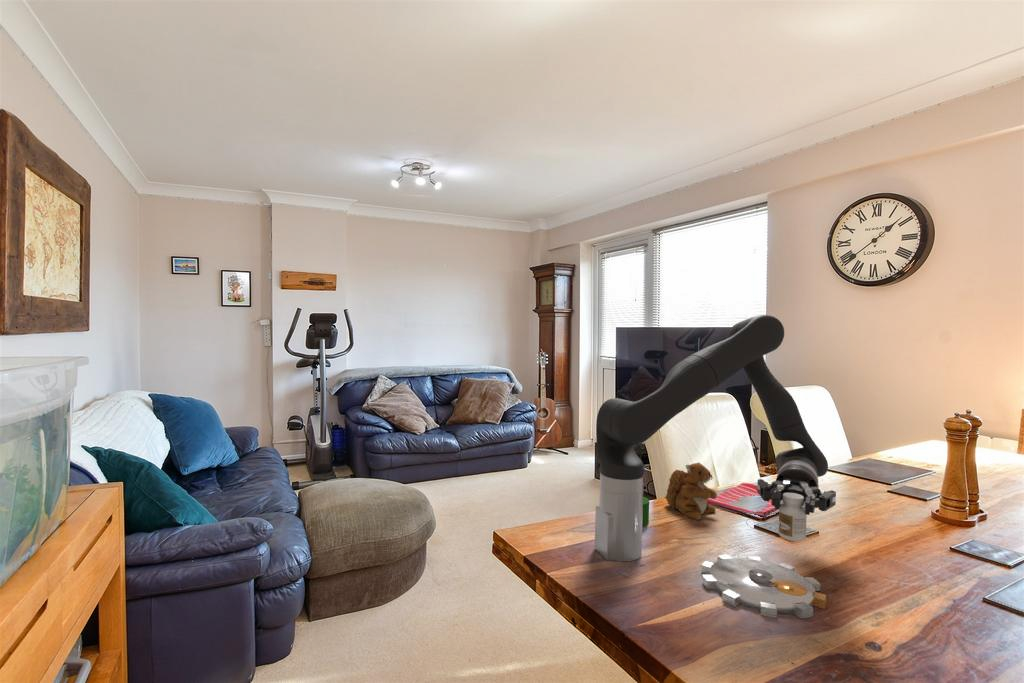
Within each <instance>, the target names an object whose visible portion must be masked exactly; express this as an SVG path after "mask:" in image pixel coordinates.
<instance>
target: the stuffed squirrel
mask: <svg viewBox="0 0 1024 683" xmlns="http://www.w3.org/2000/svg"><path fill="white" fill-rule="evenodd" d="M685 468H686V471H685V470H681V469H680V470H679V469H675V470H674V471H673V472H672V473H671V474H670V475H671V476H670V478H669V484H668V487H667V489H666V495H665V496H664V499H665V500H666V501H667V505H669V506H670V507H671V508H673V509H678V510H679V511H680V513H681V514H682V515H683V516H685V517H687V518H690V519H693V520H695V521H700V520H701V519H702V514H704V513H709V514H710V513H716V507H713V506H711V505H708V501H707V500H706V499H709V498H711V499H715V498H716V497H717V495H718V494H717V492H716V491H715V489H712V488H710V487H708V486H707V485H706V484H707V483H708V482H709V481H712V480H713V479H714V477H713V475H712V474H711V471H710V470H709V468H707V467H705V465H704V464H702V463H700V462H696V463H691V464H685Z"/></svg>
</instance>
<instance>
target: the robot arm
mask: <svg viewBox="0 0 1024 683" xmlns="http://www.w3.org/2000/svg"><path fill="white" fill-rule="evenodd" d="M728 334H729V335H728V338H726V339H724V340H721V341H718V342H716V343H713V344H711V345H708V346H706V347H704V348H702V349H700V350H698V351H696V352H694V353H692V354H690V355H689V356H687V357H686V358H684V359H683V360H681V361H679V362H678V363H676V364H675V365H673V367H672V368H670V370H669V371H668V372H667V374H666V377H665V379H664V381H663V382H662V384H661V386H659V387H658V389H656V390H655V391H654V392H652V393H650V394H649V395H647V396H645V397H643V398H641V399H639V400H636V401H631V400H627V399H622V398H617V397H616V398H613V397H612V398H610V399H607V400H605V401H604V402H603V403H602V405H601V406H600V407H599V408H598V409H599V410H598V412H597V416H596V425H595V427H596V428H595V429H596V430H595V434H596V436H595V438H596V456H597V461H598V463H599V468H600V469H599V501H598V502H599V504H598V505H596V506H595V520H594V521H595V523H594V525H595V526H594V550H596V551H597V552H598V553H599V554H600V555H601V556H602V557H603V558H604V559H605V561H618V562H631V561H632V562H633V561H637V560H638V559H640V558H641V557H642V554H643V552H642V551H643V550H642V548H643V542H642V541H643V527H642V518H643V497H644V475H645V474H644V472H645V471H644V470H645V466H644V463H643V460H642V459H641V458H640V457H639V456H638V455H637V453H636V451H635V448H634V446H639V445H641V444H643V443H645V442H646V441H648V440H649V439H650V438H651V437H652V436H653V435H654V434H656V433H657V432H658V431H659V430H660V429H661V428H662V427H664V426H665V425H666V424H667V423H668V422H669V421H670V420H672V419H673V418H674V417H676V416H677V415H679V414H680V413H682V412H683V411H684V410H686V409H687V408H689V407H690V406H691V405H693V404H694V403H696V402H698V400H701V399H702V398H704V397H705V396H707V395H709V393H711V392H713V391H714V390H716V389H717V388H718V387H719V386H721V385H722V384H724V383H725V382H726V381H728V380H729V379H730V378H732V377H733V376H735V375H736V374H737V373H739V371H741V370H742V369H743V371H744V372H745V374H746V376H747V378H748V380H749V382H750V383H751V385H752V387H753V389H754V391H755V393H756V395H757V396H758V398H759V400H760V402H761V405H762V408H763V409H764V413H765V415H766V419H767V421H768V423H769V427H770V430H771V433H772V435H773V437H774V439H775V440H777V441H779V442H780V441H781V442H794V443H795V442H796V443H797V444H800V445H801V446H802V447H800V448H799V447H798V448H793V449H787V450H784V451H780V452H779V453H778V454H777V455H775V456H776V457H775V466H776V469H777V475H776V479H775V480H774V481H772V482H771V483H769V482H768V481H765V480H764V479H761V478H759V479H757V485H756V486H757V492H758V493H759V495H760V496H761V498H762V499H763V500H764V501H770V500H771V505H772V506H775V509H780V505H781V503H783V493H796V494H799V495H802V496H803V497H804V505H803V506H802V507H803V508H805V514H807V516H810V514H813V513H815V509H816V508H817V509H818V510H819V511H821V512H826V511H828V510H830V509H831V508H833V507H834V506H836V505H837V504H836V502H837V492H836V491H835V490H832V489H831V490H824V491H823V492H822V491H821V489H820V488H819V478H820V477H823V476H825V475H826V474H827V472H828V470H829V464H828V460H827V457H826V456H825V454H824V453H823V452H822V450H821V449H820V448H819V446H818V445H817V444H816V442H815V441H814V439H813V438H812V437H811V435H810V434H809V432H808V430H807V428H806V425H805V423H804V421H803V418H802V415H801V413H800V411H799V407H798V405H797V403H796V400H794V397H793V396H792V394H791V393H790V392H789V391H788V390H787V389H786V388H785V387H784V386H783V385H782V384H781V383H780V381H778V379H777V378H776V377H775V376H774V375H773V373H772V372H771V370H770V369H769V367H768V365H767V363H766V360H765V357H764V356H765V355H767V354H769V353H771V352H774V351H775V350H777V349H778V348H779V347H780V346H781V345H782V343H783V341H784V337H785V327H784V325H783V322H781V321H780V320H779V319H778V318H777V317H775V316H774V315H768V314H758V315H754V316H751V317H750V318H747V319H743V320H741V321H739V322H737V323H735V324H734V325H733V326H732V327H731V328H730V330H729V333H728ZM783 504H784V503H783Z"/></svg>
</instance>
